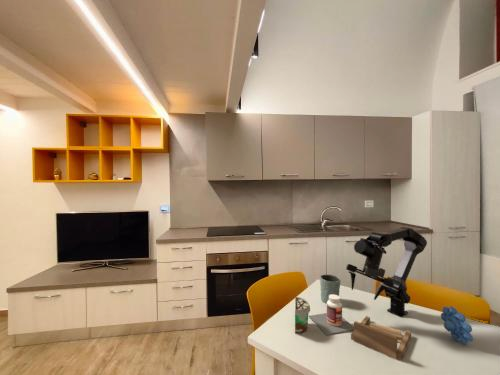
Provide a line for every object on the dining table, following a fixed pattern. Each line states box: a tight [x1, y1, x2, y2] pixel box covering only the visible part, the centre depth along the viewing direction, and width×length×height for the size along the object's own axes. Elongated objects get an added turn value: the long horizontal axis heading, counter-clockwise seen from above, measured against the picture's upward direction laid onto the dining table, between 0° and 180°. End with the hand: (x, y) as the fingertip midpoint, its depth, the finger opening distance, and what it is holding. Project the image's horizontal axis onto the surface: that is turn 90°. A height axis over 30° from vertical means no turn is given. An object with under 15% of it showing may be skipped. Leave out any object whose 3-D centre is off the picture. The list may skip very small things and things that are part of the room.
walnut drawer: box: [350, 315, 412, 361], centre depth 92 cm, size 18×16×7 cm
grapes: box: [440, 305, 474, 345], centre depth 91 cm, size 12×7×12 cm, turn 9°
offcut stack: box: [368, 322, 404, 344], centre depth 94 cm, size 6×12×2 cm, turn 56°
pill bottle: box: [326, 294, 343, 326], centre depth 102 cm, size 6×6×11 cm
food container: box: [294, 296, 311, 335], centre depth 99 cm, size 12×6×10 cm, turn 168°
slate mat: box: [308, 312, 354, 336], centre depth 102 cm, size 14×14×1 cm
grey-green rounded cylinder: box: [319, 273, 342, 305], centre depth 122 cm, size 10×10×12 cm
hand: (363, 294), depth 103 cm, fingers open, 9 cm apart
